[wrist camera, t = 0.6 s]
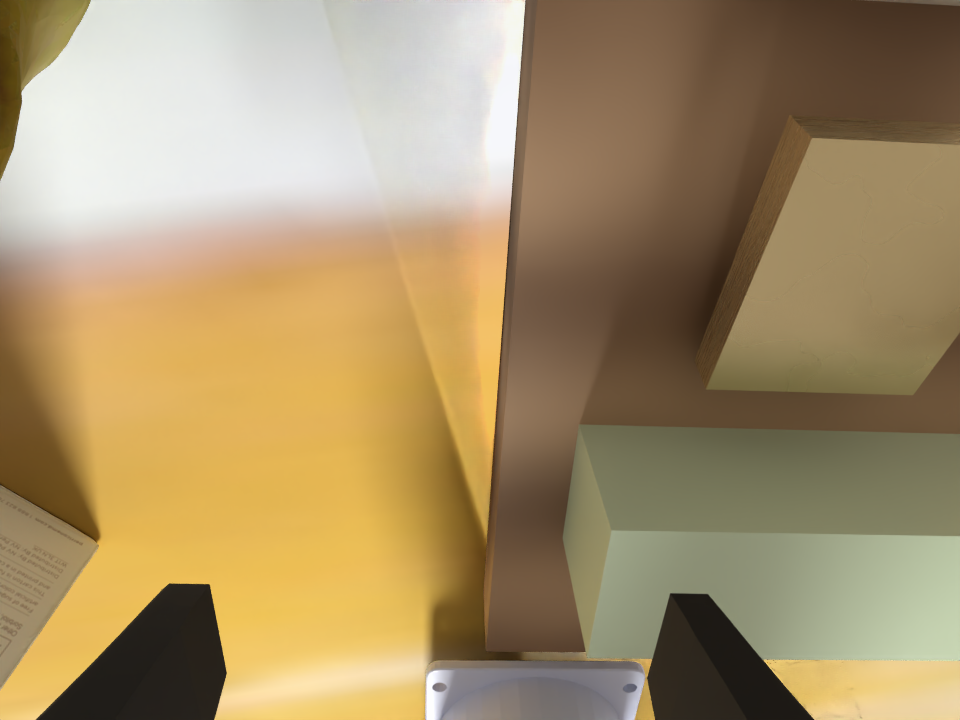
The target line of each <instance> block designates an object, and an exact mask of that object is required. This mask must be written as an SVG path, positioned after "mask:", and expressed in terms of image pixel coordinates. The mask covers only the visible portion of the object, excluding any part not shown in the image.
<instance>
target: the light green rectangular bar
mask: <svg viewBox="0 0 960 720" xmlns="http://www.w3.org/2000/svg"><path fill="white" fill-rule="evenodd" d="M563 543H564V548H565V553H566V558H567V562H568V567H569V572H570V577H571V582H572V587H573V592H574V597H575V602H576V606H577V611H578V616H579V621H580V626H581V631H582V636H583V641H584V646H585V651H586V655H587V658H631V659H653V655H654V651H655V648H656V644H657V640H658V637H659V633H660V629H661V625H662V622H663V618H664V614H665V611H666V607H667V603H668V599H669V596H670V593H689V594H708V595H709V596H710V597H711V598H712V599H713V600H714V602H715V603H716V604H717V605H718V606H719V608H720V609H721V610H722V611H723V612H724V614H725V615H726V616H727V617H728V618H729V620H730V621H731V622H732V623H733V625H734V626H735V627H736V628H737V629H738V631H739V632H740V633H741V634H742V636H743V637H744V638H745V639H746V640H747V642H748V643H749V644H750V645H751V646H752V648H753V649H754V650H755V651H756V652H757V654H758V655H759V656H760V657H761V658H762V659H775V660H919V661H960V434H940V433H900V432H860V431H820V430H780V429H740V428H700V427H660V426H621V425H581V424H579V428H578V435H577V442H576V449H575V456H574V463H573V469H572V476H571V483H570V490H569V497H568V504H567V511H566V518H565V525H564V532H563Z"/></svg>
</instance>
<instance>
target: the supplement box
mask: <svg viewBox="0 0 960 720" xmlns="http://www.w3.org/2000/svg"><path fill="white" fill-rule="evenodd" d="M98 547H99V545H98V544H97V543H96V542H95V541H94V540H93V539H92V538H90V537H89V536H87V535H85V534H83V533H81V532H80V531H78V530H77V529H75V528H74V527H72V526H70V525H69V524H67V523H65V522H64V521H62V520H60V519H58V518H56V517H55V516H53V515H51V514H49V513H48V512H46V511H44V510H43V509H41V508H39V507H38V506H36V505H34V504H32V503H31V502H29V501H27V500H25V499H24V498H22V497H20V496H18V495H17V494H15V493H13V492H12V491H10V490H8V489H6V488H5V487H3V486H1V485H0V690H1V689H2V687H3V686H4V684H5V683H6V681H7V680H8V678H9V677H10V676H11V674H12V673H13V671H14V670H15V668H16V667H17V665H18V664H19V663H20V661H21V660H22V658H23V657H24V655H25V654H26V652H27V651H28V649H29V648H30V647H31V645H32V644H33V642H34V641H35V639H36V638H37V637H38V635H39V634H40V632H41V631H42V629H43V628H44V626H45V625H46V623H47V622H48V620H49V619H50V617H51V616H52V614H53V613H54V612H55V610H56V609H57V607H58V606H59V604H60V603H61V601H62V600H63V599H64V597H65V596H66V594H67V593H68V591H69V590H70V588H71V587H72V585H73V584H74V583H75V581H76V580H77V578H78V577H79V575H80V574H81V572H82V571H83V569H84V568H85V566H86V565H87V564H88V562H89V561H90V560H91V558H92V557H93V555H94V554H95V552H96V551H97V549H98Z"/></svg>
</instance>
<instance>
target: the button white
mask: <svg viewBox="0 0 960 720" xmlns="http://www.w3.org/2000/svg"><path fill="white" fill-rule="evenodd" d="M867 1H884V2H901V3H918V4H935V5H952V6H960V0H867Z"/></svg>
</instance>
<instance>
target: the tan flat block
mask: <svg viewBox="0 0 960 720" xmlns="http://www.w3.org/2000/svg"><path fill="white" fill-rule="evenodd" d="M959 333H960V123H940V122H920V121H900V120H880V119H860V118H839V117H819V116H799V115H789V118H788V120H787V123H786V125H785V128H784V131H783V133H782V136H781V138H780V141H779V143H778V146H777V149H776V151H775V154H774V156H773V159H772V162H771V164H770V167H769V169H768V172H767V174H766V177H765V180H764V182H763V185H762V187H761V190H760V192H759V195H758V198H757V200H756V203H755V205H754V208H753V210H752V213H751V216H750V218H749V221H748V223H747V226H746V229H745V231H744V234H743V236H742V239H741V241H740V244H739V247H738V249H737V252H736V254H735V257H734V259H733V262H732V265H731V267H730V270H729V272H728V275H727V277H726V280H725V283H724V285H723V288H722V290H721V293H720V296H719V298H718V301H717V303H716V306H715V308H714V311H713V314H712V316H711V319H710V321H709V324H708V326H707V329H706V332H705V334H704V337H703V339H702V342H701V345H700V347H699V350H698V352H697V355H696V357H695V360H694V361H695V363H696V366H697V368H698V371H699V374H700V376H701V379H702V381H703V384H704V386H705V389H707V390H743V391H778V392H814V393H850V394H885V395H914V393H915V392H916V391H917V389H918V388H919V387H920V385H921V384H922V382H923V381H924V380H925V378H926V377H927V376H928V374H929V373H930V372H931V370H932V369H933V368H934V366H935V365H936V364H937V362H938V361H939V360H940V358H941V357H942V356H943V354H944V353H945V352H946V350H947V349H948V348H949V346H950V345H951V344H952V342H953V341H954V340H955V338H956V337H957V336H958V334H959Z"/></svg>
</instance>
